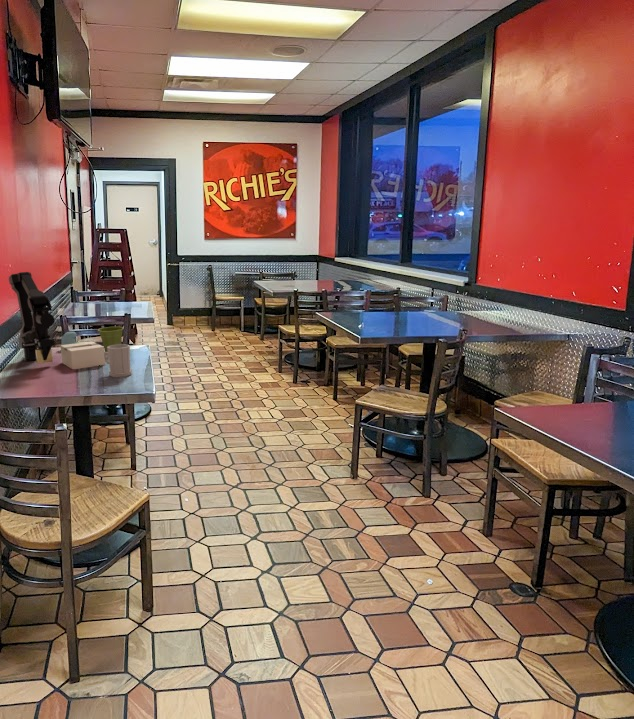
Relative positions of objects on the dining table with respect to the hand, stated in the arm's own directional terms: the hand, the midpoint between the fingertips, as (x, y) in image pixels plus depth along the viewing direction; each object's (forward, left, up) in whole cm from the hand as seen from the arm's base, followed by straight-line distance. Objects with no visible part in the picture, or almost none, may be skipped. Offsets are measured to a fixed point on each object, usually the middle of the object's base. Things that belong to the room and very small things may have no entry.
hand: (44, 359), depth 278 cm
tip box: (+5, +15, -3) cm, 16 cm away
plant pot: (-12, +34, -4) cm, 36 cm away
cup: (+35, +20, -4) cm, 40 cm away
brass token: (0, 0, -1) cm, 1 cm away
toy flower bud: (-31, +22, -4) cm, 38 cm away
